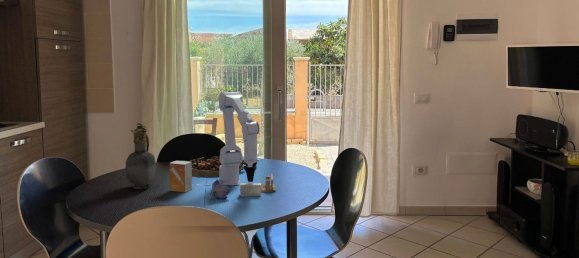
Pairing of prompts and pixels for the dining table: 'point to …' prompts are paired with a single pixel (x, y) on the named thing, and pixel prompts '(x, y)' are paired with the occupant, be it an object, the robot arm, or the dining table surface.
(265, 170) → the dining table surface
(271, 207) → the dining table surface
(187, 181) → the small box
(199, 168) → the food dish
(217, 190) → the flower
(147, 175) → the pitcher
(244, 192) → the gray rectangular block
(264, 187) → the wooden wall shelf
